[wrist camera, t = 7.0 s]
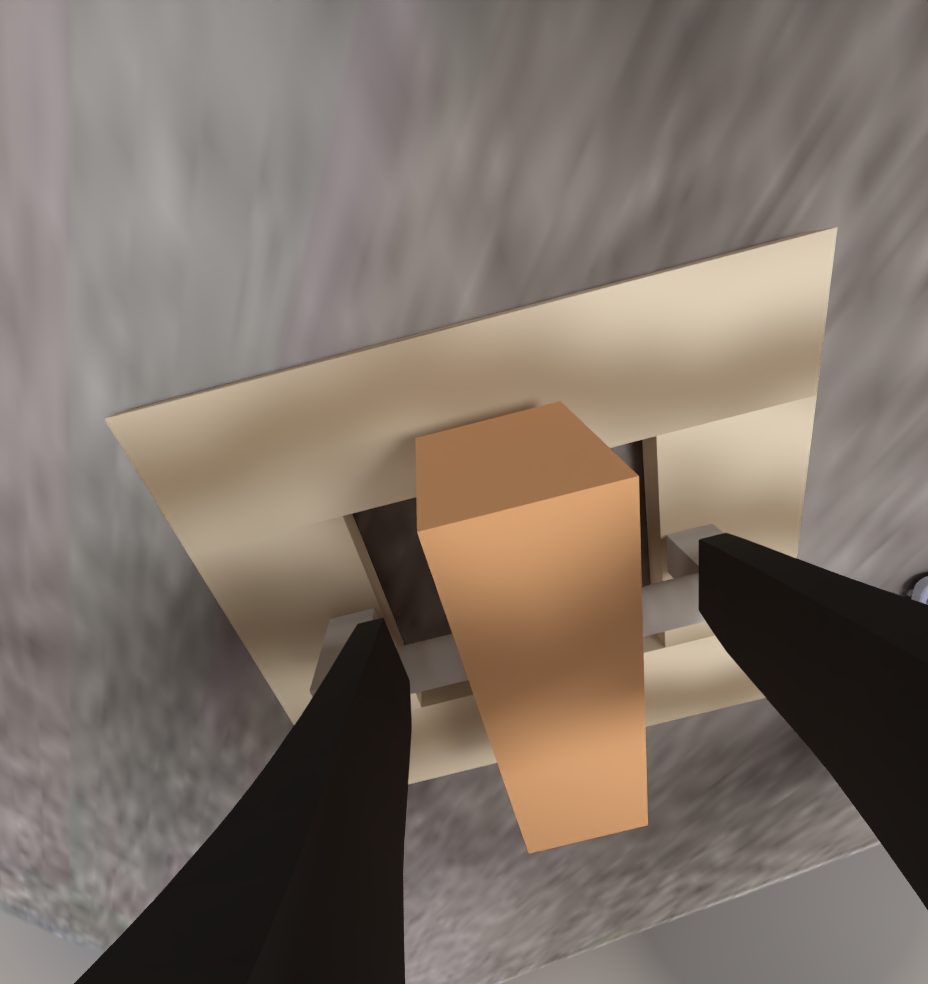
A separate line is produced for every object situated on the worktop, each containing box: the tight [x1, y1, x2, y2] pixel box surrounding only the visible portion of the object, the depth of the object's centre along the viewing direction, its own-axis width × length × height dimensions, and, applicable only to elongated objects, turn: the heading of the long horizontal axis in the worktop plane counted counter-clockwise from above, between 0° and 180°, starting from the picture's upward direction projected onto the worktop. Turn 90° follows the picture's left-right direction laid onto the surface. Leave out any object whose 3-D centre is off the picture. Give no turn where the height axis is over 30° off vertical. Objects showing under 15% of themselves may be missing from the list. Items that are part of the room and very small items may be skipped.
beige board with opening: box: [105, 227, 837, 784], centre depth 14 cm, size 18×20×4 cm
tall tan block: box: [415, 401, 648, 854], centre depth 13 cm, size 13×4×4 cm, turn 13°
